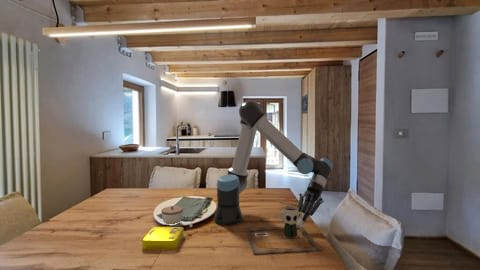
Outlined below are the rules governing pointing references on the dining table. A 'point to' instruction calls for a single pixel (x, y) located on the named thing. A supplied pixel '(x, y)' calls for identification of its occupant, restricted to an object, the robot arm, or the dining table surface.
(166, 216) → the lidded jar
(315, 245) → the label frame
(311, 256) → the dining table surface
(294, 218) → the character mug
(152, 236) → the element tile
